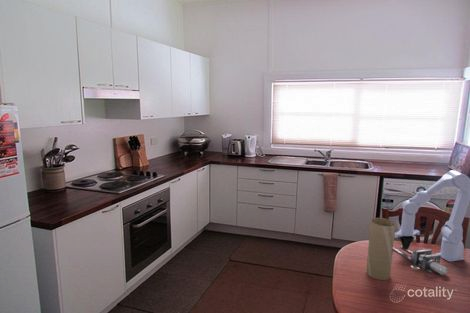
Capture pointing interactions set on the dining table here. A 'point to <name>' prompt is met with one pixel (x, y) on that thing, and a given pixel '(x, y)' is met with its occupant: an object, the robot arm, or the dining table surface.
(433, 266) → the grey metal elongated piece
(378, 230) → the tube
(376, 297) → the dining table surface
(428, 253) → the grey metal angular piece
